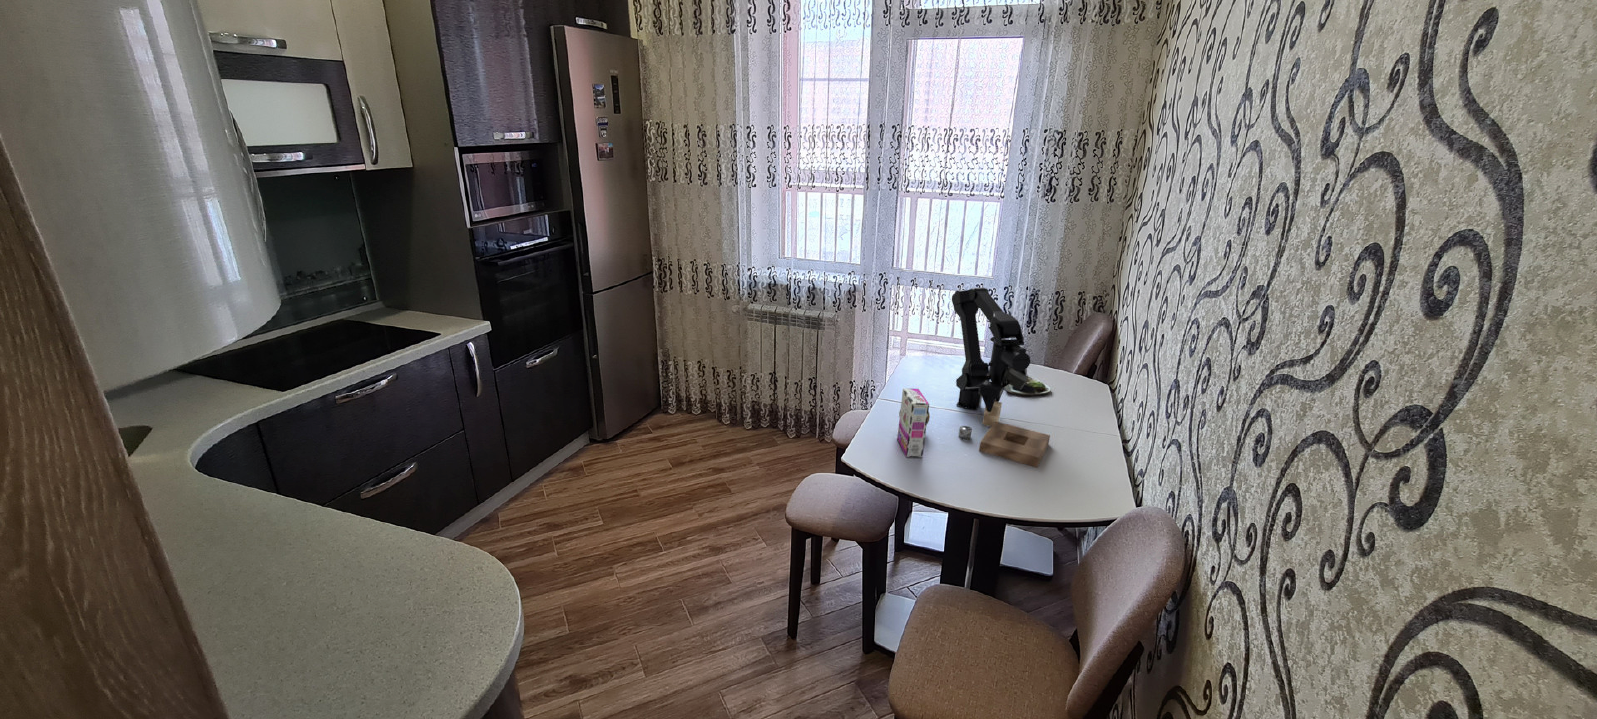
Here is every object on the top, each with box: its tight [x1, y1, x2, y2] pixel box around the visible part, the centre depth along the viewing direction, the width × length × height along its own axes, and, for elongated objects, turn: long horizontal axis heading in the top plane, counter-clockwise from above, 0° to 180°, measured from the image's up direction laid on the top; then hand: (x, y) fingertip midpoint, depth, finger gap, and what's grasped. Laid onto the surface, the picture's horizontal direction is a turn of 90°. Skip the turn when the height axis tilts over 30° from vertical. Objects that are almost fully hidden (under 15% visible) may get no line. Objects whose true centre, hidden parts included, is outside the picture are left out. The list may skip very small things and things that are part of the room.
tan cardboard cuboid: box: [982, 401, 1003, 428], centre depth 191 cm, size 4×4×7 cm
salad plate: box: [1004, 375, 1052, 398], centre depth 222 cm, size 19×18×5 cm
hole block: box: [978, 421, 1051, 468], centre depth 177 cm, size 16×16×3 cm
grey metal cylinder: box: [957, 425, 973, 441], centre depth 182 cm, size 4×4×3 cm
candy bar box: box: [897, 388, 930, 459], centre depth 172 cm, size 11×5×16 cm, turn 5°
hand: (993, 406), depth 190 cm, fingers open, 9 cm apart
